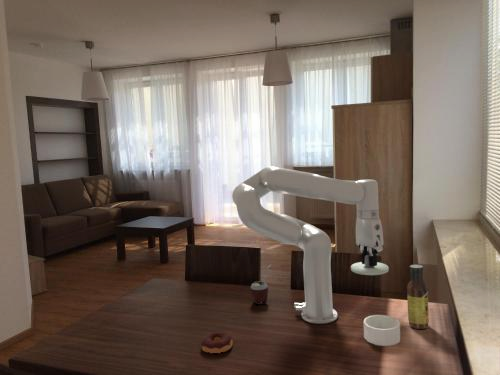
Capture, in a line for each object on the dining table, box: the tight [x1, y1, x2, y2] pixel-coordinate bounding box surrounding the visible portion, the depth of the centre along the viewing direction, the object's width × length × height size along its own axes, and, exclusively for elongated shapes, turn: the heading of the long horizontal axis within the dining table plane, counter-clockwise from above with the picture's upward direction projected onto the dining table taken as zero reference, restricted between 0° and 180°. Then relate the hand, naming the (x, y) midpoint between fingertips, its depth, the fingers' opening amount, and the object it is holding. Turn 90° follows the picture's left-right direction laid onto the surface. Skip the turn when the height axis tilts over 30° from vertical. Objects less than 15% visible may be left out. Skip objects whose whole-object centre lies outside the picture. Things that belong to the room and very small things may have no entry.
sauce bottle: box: [406, 264, 430, 330], centre depth 133 cm, size 7×6×20 cm
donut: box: [200, 331, 234, 354], centre depth 128 cm, size 10×10×4 cm
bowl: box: [363, 314, 401, 347], centre depth 127 cm, size 11×11×5 cm
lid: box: [350, 255, 389, 276], centre depth 147 cm, size 13×13×5 cm
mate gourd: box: [249, 263, 273, 305], centre depth 162 cm, size 8×8×15 cm
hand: (369, 264), depth 147 cm, fingers closed on lid, 3 cm apart
